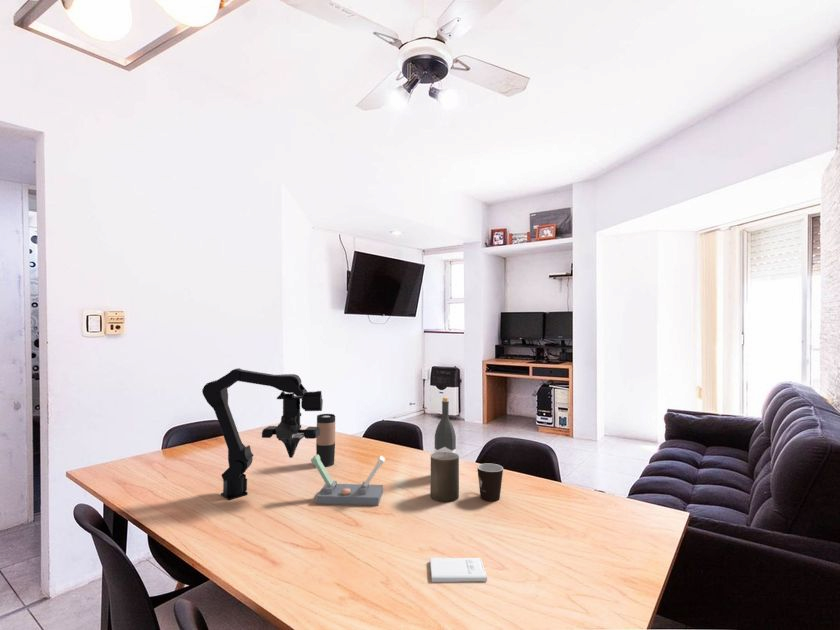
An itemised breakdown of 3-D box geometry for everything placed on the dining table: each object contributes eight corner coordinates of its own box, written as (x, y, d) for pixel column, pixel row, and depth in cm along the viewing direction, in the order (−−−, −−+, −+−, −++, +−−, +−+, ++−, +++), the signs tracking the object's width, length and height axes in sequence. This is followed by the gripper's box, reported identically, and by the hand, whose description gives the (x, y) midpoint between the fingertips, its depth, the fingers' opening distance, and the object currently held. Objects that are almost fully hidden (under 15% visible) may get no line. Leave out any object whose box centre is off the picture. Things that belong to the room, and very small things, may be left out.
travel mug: (311, 465, 174) (312, 416, 174) (324, 460, 180) (325, 413, 181) (326, 468, 170) (327, 418, 171) (338, 463, 177) (339, 414, 178)
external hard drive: (429, 563, 103) (480, 563, 103) (431, 584, 94) (487, 583, 95) (429, 557, 103) (481, 556, 103) (431, 577, 95) (487, 576, 95)
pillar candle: (457, 503, 137) (457, 456, 137) (427, 500, 139) (428, 454, 139) (460, 492, 146) (460, 448, 147) (432, 489, 148) (433, 446, 149)
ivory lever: (358, 490, 138) (378, 458, 139) (361, 485, 143) (380, 454, 143) (364, 493, 138) (384, 462, 138) (366, 488, 143) (385, 458, 143)
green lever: (328, 492, 139) (309, 460, 139) (332, 487, 143) (313, 456, 144) (334, 489, 139) (315, 457, 139) (337, 484, 143) (318, 453, 144)
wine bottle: (455, 473, 165) (456, 396, 166) (455, 480, 157) (455, 399, 158) (435, 472, 166) (435, 395, 167) (433, 479, 158) (434, 399, 159)
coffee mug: (503, 504, 137) (503, 472, 137) (476, 501, 139) (476, 470, 139) (503, 490, 148) (503, 461, 149) (478, 488, 150) (478, 460, 150)
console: (316, 503, 136) (316, 490, 136) (325, 490, 147) (325, 478, 147) (378, 505, 135) (378, 492, 135) (382, 492, 146) (382, 479, 146)
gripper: (254, 416, 138) (253, 464, 138) (310, 416, 137) (310, 465, 136) (269, 409, 149) (268, 454, 149) (320, 410, 148) (320, 455, 147)
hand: (291, 457), depth 145 cm, fingers closed
